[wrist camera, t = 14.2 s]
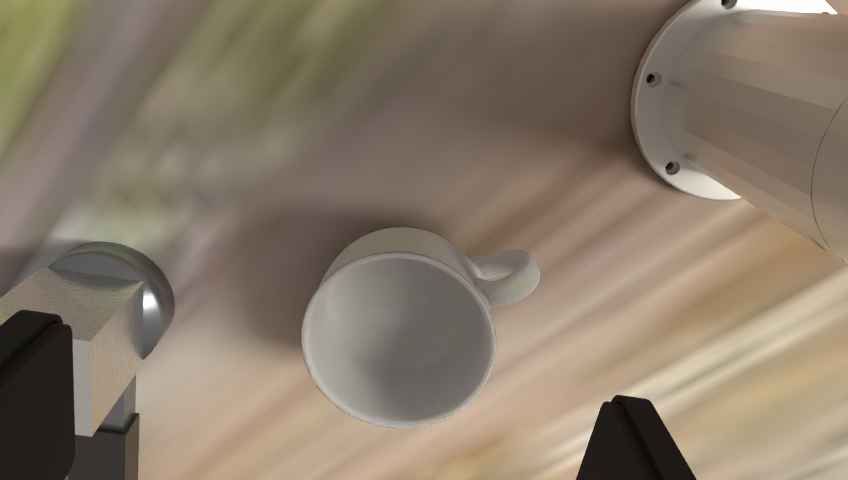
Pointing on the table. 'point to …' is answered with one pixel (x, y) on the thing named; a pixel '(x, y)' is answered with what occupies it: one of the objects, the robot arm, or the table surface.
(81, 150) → the table surface
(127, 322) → the wood-topped grey cube
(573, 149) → the table surface
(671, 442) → the robot arm
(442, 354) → the teacup
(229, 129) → the table surface
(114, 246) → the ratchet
